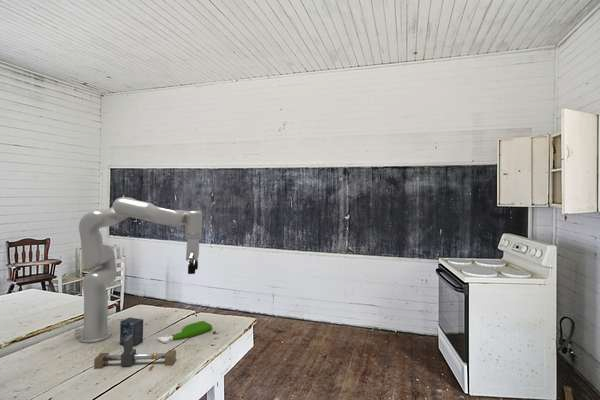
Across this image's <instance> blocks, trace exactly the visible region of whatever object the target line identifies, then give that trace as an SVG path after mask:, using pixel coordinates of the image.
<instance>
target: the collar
mask: <svg viewBox="0 0 600 400" xmlns="http://www.w3.org/2000/svg"><path fill="white" fill-rule="evenodd" d="M133 354H137V349H136V348H134V347H133V334H131V335H129V336H128V337H127V338H126V340H125V341H124V345H123V351H122V353H121V354H120V355H121V360H120V367H124V366H125V367H126V366H133V364H134V363H135V361H136V360H132V355H133Z"/></svg>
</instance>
